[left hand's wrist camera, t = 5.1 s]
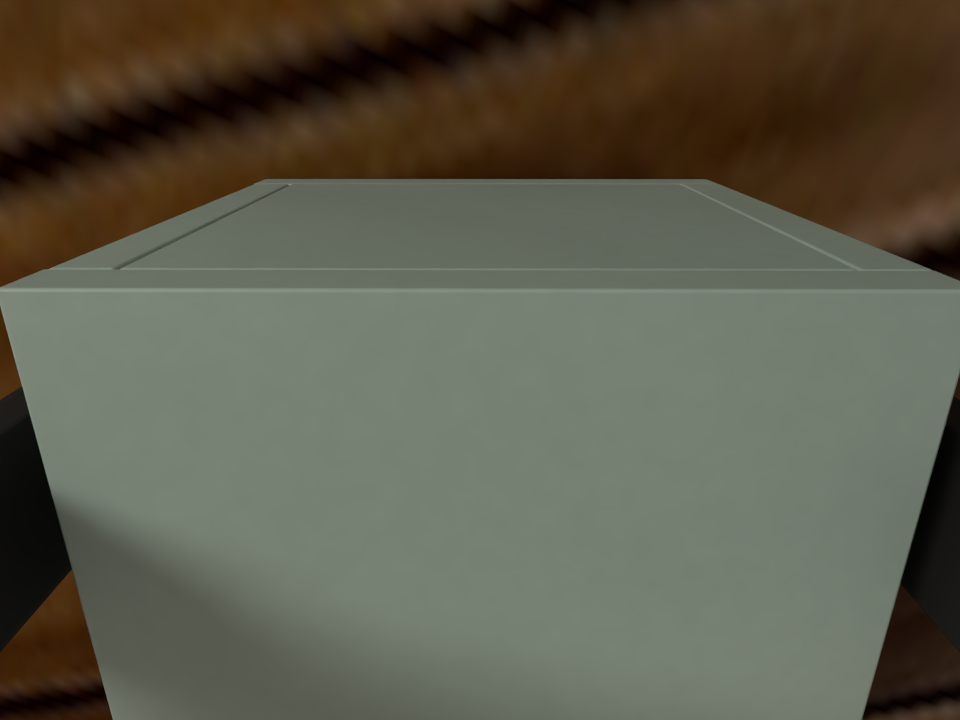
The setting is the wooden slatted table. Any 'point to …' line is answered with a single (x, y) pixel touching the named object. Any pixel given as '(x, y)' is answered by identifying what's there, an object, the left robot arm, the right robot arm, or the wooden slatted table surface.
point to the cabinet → (487, 451)
